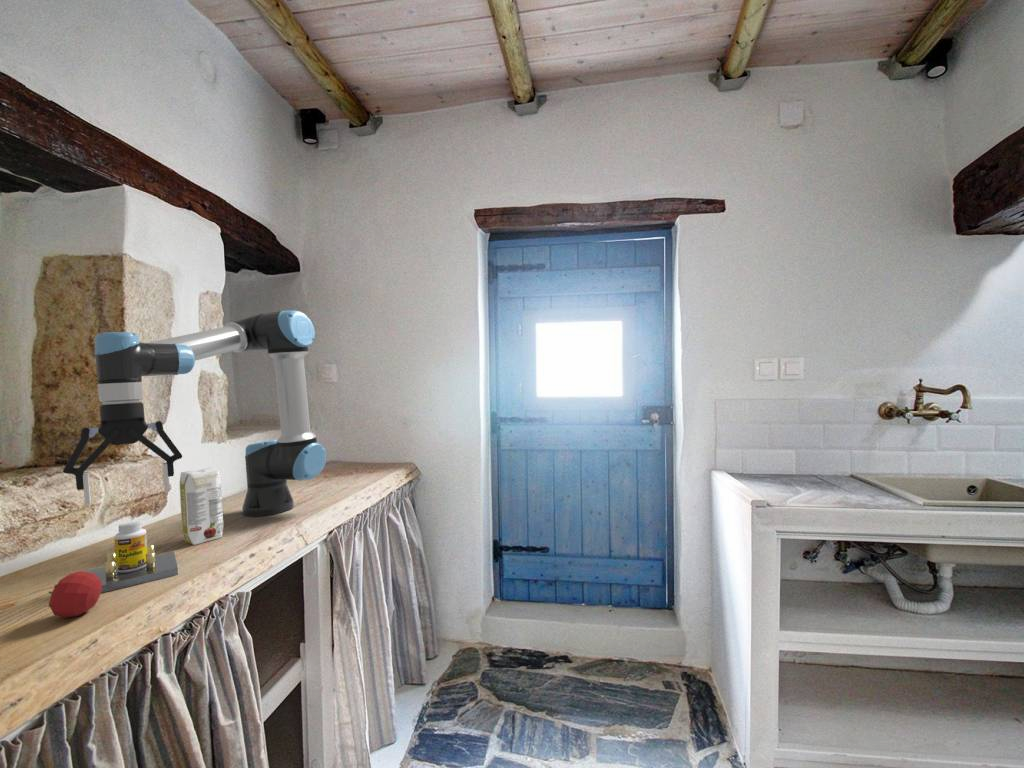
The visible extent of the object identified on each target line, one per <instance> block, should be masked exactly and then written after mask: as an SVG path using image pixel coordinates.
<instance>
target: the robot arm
mask: <svg viewBox="0 0 1024 768" xmlns="http://www.w3.org/2000/svg"><path fill="white" fill-rule="evenodd" d="M315 336H316V331H315V328H314V324H313V323H312V320H311V319H310V318H309V317H308V316H307V315H306V314H305V313H304V312H302V311H299V310H292V309H291V310H290V309H289V310H288V309H287V310H280V311H274V312H273V311H272V312H266V313H265V312H264V313H258V314H255V315H251V316H248V317H245V318H240V319H238V320H235V321H230V322H227V323H225V324H224V325H223V326H222V327H218V328H213V329H208V330H203V331H198V332H194V333H193V332H192V333H188V334H183V335H177V336H173V337H169V338H164V339H160V340H155V341H150V342H149V341H148V342H141V341H140V338H139V335H138V334H136V333H134V332H129V331H128V332H126V331H125V332H124V331H120V332H119V331H109V332H106V331H105V332H100V333H98V334H96V336H95V338H94V339H95V340H94V356H95V365H96V375H97V376H96V377H97V392H98V401H99V403H102V404H101V405H100V406H99V416H100V426H99V427H89V426H85V427H83V428H82V429H81V435H80V439H79V442H78V443H77V445H76V446H75V448H74V450H73V452H72V454H71V456H70V457H69V459H68V461H67V463H66V465H65V466H64V468H63V470H62V473H64V474H67V475H68V474H70V475H74V476H75V484H76V485H75V486H76V490H78V491H82V490H83V496H84V505H85V506H90V505H91V503H92V499H91V488H90V475H89V474H90V473H89V472H85V471H86V470H87V469H88V468H89V467H90V466H91V465H92V464H93V463H94V462H95V461H96V460H97V458H98V457H99V456H100V455H101V454H102V453H103V452H104V451H105V450H106V449H107V448H108V447H109V446H110V444H111V445H114V446H122V445H125V444H126V445H132V444H136V443H137V442H140V443H141V444H142V445H144V446H146V448H148V449H149V450H151V451H152V452H153V453H155V455H157V456H159V457H160V458H161V459H162V460H163V461H165V462H162V473H163V485H164V487H163V488H164V493H170V485H169V477H174V475H175V472H174V471H175V469H174V463H175V462H176V461H178V460H180V459H182V458H183V455H182V453H181V452H180V450H179V449H178V448H177V446H176V445H175V444H174V442H173V441H172V439H170V437H169V436H168V434H167V433H166V431H165V430H164V427H163V422H162V421H161V420H156V421H154V422H150V423H149V422H146V417H145V404H144V403H143V402H141V400H143V399H144V394H143V393H144V392H143V382H142V377H150V376H153V377H154V376H167V375H168V376H170V375H171V376H172V375H173V376H178V375H186V374H189V373H190V372H191V371H192V370H193V369H194V367H195V363H196V361H199V360H202V359H206V358H207V359H208V358H210V357H211V358H212V357H214V356H218V355H221V354H222V355H223V354H227V353H230V352H233V353H237V354H238V353H242V352H246V351H247V352H248V351H261V350H263V351H264V350H267V355H268V356H269V357H270V358H272V359H273V363H274V371H275V372H274V373H275V380H276V392H277V403H278V413H279V414H278V415H279V423H280V432H281V433H280V434H281V435H280V436H279V438H278V439H273V440H267V441H262V442H254V443H249V444H248V445H247V446H245V456H244V459H245V460H244V461H245V472H246V484H247V487H246V489H247V490H246V494H245V497H244V501H243V503H242V509H241V511H242V515H243V516H245V517H263V516H271V515H276V514H281V513H284V512H286V511H289V510H291V509H293V508H294V507H295V505H294V498H293V495H292V493H291V491H290V488H289V486H288V481H287V480H290V481H301V482H302V481H306V480H312V479H315V478H317V477H318V476H319V475H320V474H321V473H322V472H323V471H322V470H323V469H324V468H325V465H326V461H327V451H326V449H325V447H324V446H323V445H322V444H320V443H318V441H317V435H316V434H315V433H313V432H312V431H311V421H310V411H309V409H310V408H309V401H308V389H307V380H306V378H307V377H306V370H305V357H306V355H308V354H309V346H311V345H312V343H313V342H314V340H315ZM148 429H151V430H152V432H157V434H158V436H159V437H160V438H161V440H163V442H164V443H165V445H166V446H167V448H168V449H169V450H170V452H171V453H172V455H169V453H167V452H165V451H164V450H163V449H162V448H161V447H159V446H158V445H156V444H155V443H154V442H153V441H152V440H150V439H148V438H147V437H146V436H145V435H144V434H145V433H146V431H147V430H148ZM96 434H99V435H100V436H102V437H103V438H104V440H103V441H102V442H101V443H100V444H99V446H98V447H97V448H95V450H94V451H92V453H91V454H90V455H89V456H88V457H87V458H86V460H84V461H83V462H82V463H81V465H79V466H78V467H75V465H76V464H77V463H78V460H79V458H80V456H81V455H82V453H83V452H84V450H85V448H86V446H87V444H88V442H89V439H91V438H93V437H95V435H96Z"/></svg>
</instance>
